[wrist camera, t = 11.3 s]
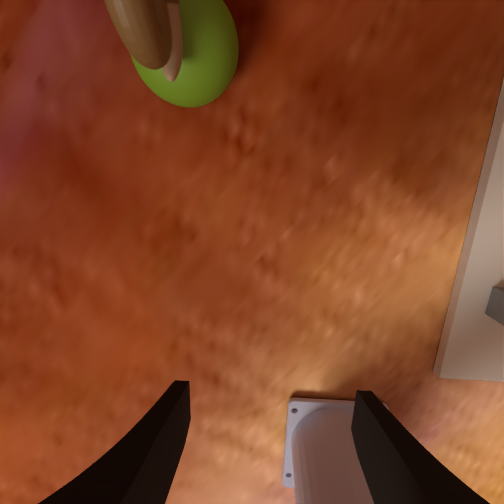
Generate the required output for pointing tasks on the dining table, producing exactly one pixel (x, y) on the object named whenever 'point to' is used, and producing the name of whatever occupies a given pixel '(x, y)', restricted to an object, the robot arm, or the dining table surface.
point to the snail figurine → (179, 46)
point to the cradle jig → (479, 278)
